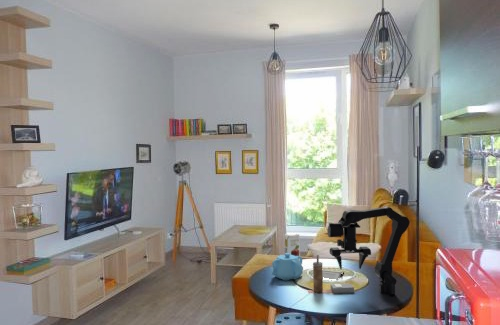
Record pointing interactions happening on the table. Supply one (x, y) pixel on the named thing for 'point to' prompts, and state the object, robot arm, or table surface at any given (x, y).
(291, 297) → the table surface
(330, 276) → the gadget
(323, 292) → the plywood panel
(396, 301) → the table surface
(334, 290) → the block
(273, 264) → the decorative pot
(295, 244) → the juice carton
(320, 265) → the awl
